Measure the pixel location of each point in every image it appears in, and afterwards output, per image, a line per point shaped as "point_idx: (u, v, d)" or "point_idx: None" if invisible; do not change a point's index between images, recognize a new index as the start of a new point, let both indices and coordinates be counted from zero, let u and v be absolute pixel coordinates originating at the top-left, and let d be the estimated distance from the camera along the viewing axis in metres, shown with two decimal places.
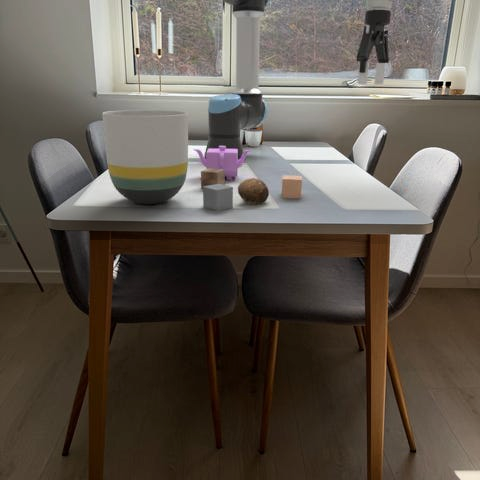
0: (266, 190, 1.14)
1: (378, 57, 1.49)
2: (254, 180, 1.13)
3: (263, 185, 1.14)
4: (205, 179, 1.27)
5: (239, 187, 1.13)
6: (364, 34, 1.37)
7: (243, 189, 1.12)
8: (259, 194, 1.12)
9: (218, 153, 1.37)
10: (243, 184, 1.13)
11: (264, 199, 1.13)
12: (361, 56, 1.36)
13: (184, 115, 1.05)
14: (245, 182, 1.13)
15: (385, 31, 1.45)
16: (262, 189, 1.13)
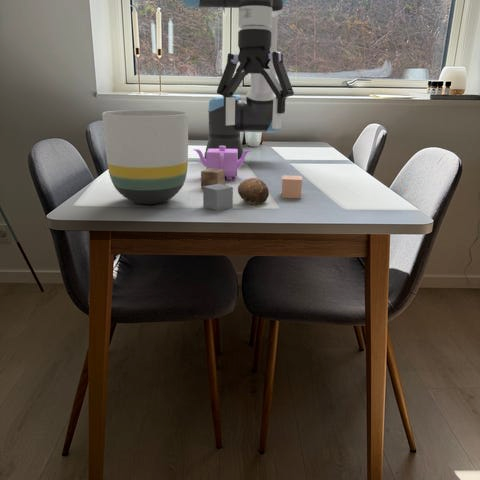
0: (266, 190, 1.14)
1: None
2: (254, 180, 1.13)
3: (263, 185, 1.14)
4: (205, 179, 1.27)
5: (239, 187, 1.13)
6: None
7: (243, 189, 1.12)
8: (259, 194, 1.12)
9: (218, 153, 1.37)
10: (243, 184, 1.13)
11: (264, 199, 1.13)
12: None
13: (184, 115, 1.05)
14: (245, 182, 1.13)
15: None
16: (262, 189, 1.13)
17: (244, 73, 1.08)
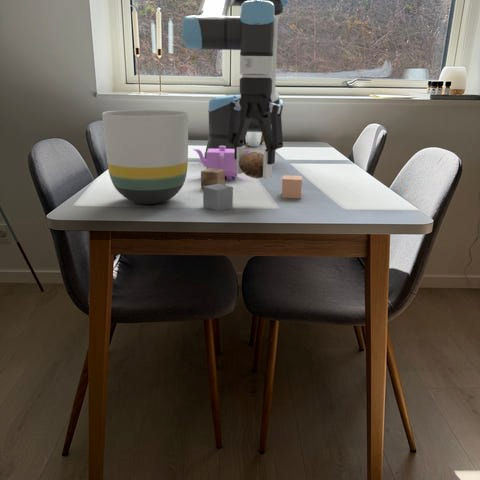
0: None
1: None
2: (255, 153, 1.12)
3: None
4: (205, 179, 1.27)
5: (240, 161, 1.11)
6: None
7: (244, 163, 1.10)
8: (260, 167, 1.10)
9: (218, 153, 1.37)
10: (244, 157, 1.11)
11: None
12: None
13: (184, 115, 1.05)
14: (246, 155, 1.11)
15: None
16: None
17: (249, 119, 1.10)
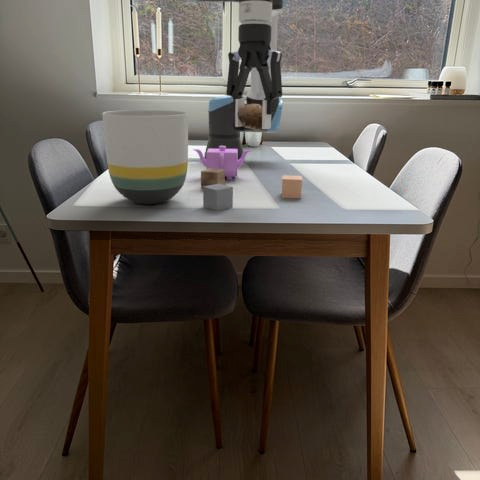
0: None
1: None
2: (254, 105, 1.10)
3: None
4: (205, 179, 1.27)
5: (239, 112, 1.10)
6: None
7: (243, 113, 1.09)
8: (259, 118, 1.09)
9: (218, 153, 1.37)
10: (243, 108, 1.10)
11: None
12: None
13: (184, 115, 1.05)
14: (245, 106, 1.10)
15: None
16: None
17: (248, 69, 1.09)
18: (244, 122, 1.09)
